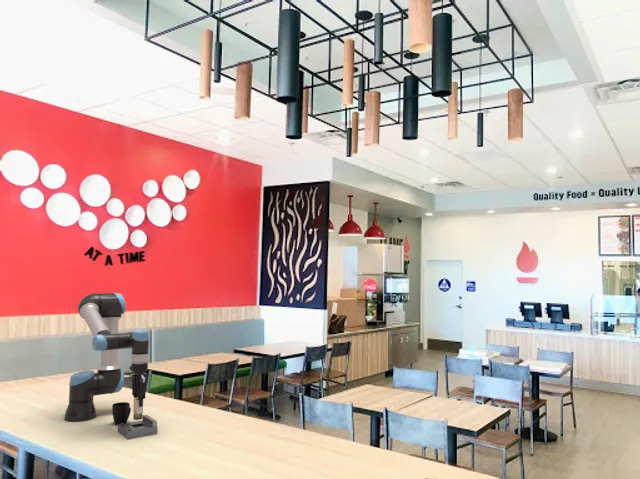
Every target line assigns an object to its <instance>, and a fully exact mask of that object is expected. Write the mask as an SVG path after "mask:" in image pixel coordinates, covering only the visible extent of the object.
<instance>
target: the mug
mask: <svg viewBox="0 0 640 479" xmlns="http://www.w3.org/2000/svg"><path fill="white" fill-rule="evenodd" d="M130 404H131V403H130V402H125V401H122V402H114V403H113V404H112V407H111V408H112V410H111V411H112V412H111V413H112V420H113V423H114V425H117V426H118V424H120V423H128V421H129V417H130V415H131V411H132V410H131V409H132V408H131V407H130V406H131V405H130Z"/></svg>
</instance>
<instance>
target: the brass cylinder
mask: <svg viewBox="0 0 640 479" xmlns="http://www.w3.org/2000/svg"><path fill="white" fill-rule="evenodd" d="M136 399H138V396H137V397H133V410H134V412H133V420H135V421H141V420H142V419H143V413H141V414H137V400H136Z"/></svg>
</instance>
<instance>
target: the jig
mask: <svg viewBox="0 0 640 479" xmlns="http://www.w3.org/2000/svg"><path fill="white" fill-rule="evenodd" d="M117 433H118V434H119V435H121V436H122V437H123V438H124V439H126V440H131V439H136V438H137V437H138V438H143V437H147V436H153V435H158V420H156V419H155V418H153V417H151V416H150V415H148V414H142V419H141V420H135V421H131V422H126V423H120V424H118V425H117Z"/></svg>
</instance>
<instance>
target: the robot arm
mask: <svg viewBox="0 0 640 479" xmlns="http://www.w3.org/2000/svg"><path fill="white" fill-rule="evenodd" d="M78 303H79V304H78V306H77V312H78V314H79V316H80V318H81V319H84V321H85V323H86V325H87V327H88V328H89V331H90V332H91V334H92V336H93V337H92V339H91V340H92V341H91V342H92V343H91V344H92V349H93V351H100V366H99V367H98V368H97V372H95V371H94V370H82V371H79V372H76V373H73V374H72V375H71V376H70V378H69V384H68V385H69V390H68V391H69V392H68V393H69V394H68V404H67V407H66V411H65V412H64V413H65V414H64V418H63V419H64V421H66V422H84V421H90V420H92V419H96V417H97V410H96V406H95V403H94V397H95V396H102V395H107V394H109V395H113V394H115V393H119V392H120V391H121V390H122V389H123V387H124V384H125V372H124V371H123V370H122V369H121V366H119V365H118V364H119V363H118V362H119V361H118V359H119V358H118V357H119V356H118V354H119V350H127V349H131V356H130V359H131V366H130V369H131V370H130V371H131V372H133V373H134V374H132V375H131V377H132V380H131V382H132V384H131V385H132V387H131V389H132V390H131V395H132V396H133V398H134V397H137V396H138V399H136V400H137V414H141V413H142V414H144V399H146V393H147V392H146V390H147V377H146V376H145V372H147V371H148V370H149V368H148V366H149V363H148V362H149V344H150V340H149V339H150V334H149V332H150V331H148V330H147V329H135V330H133V331H128V332H123V333H119V320H120V319H121V318H122V315H123V314H125V313H126V309H127V308H126V300H125V297H124V295H123V294H121V293H119V292H105V293H103V292H101V293H97V292H94V293H89V294H87V295H85V296H84V297H83V298H82V299H81V300H80V302H78ZM132 410H133V413H134V409H132Z"/></svg>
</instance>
